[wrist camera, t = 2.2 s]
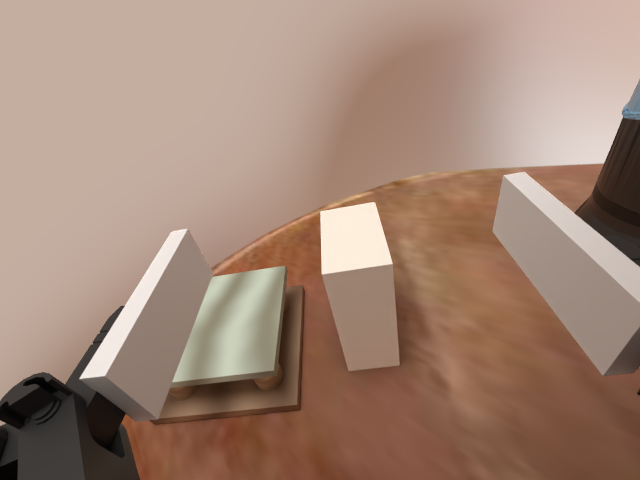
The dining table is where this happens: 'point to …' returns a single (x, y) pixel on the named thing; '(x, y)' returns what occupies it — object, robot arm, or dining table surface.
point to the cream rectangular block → (360, 285)
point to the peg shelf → (246, 388)
